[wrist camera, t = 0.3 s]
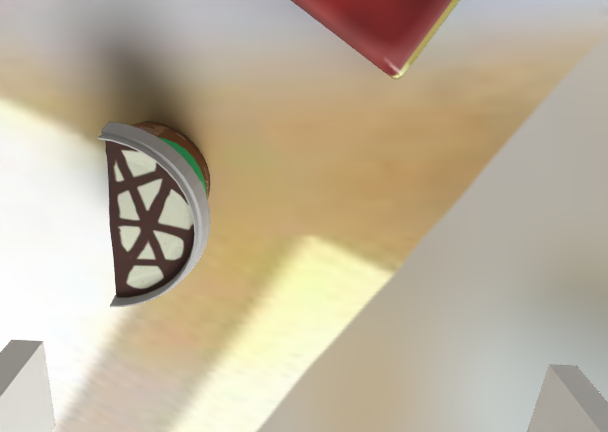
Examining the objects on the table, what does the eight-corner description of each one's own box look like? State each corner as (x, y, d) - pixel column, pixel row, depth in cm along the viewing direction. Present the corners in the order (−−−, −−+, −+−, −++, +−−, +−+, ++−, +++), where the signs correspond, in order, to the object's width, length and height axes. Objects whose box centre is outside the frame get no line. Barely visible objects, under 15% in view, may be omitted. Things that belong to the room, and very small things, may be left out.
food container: (223, 252, 41) (204, 319, 32) (150, 248, 41) (110, 314, 32) (226, 108, 37) (206, 136, 28) (145, 101, 36) (96, 128, 27)
